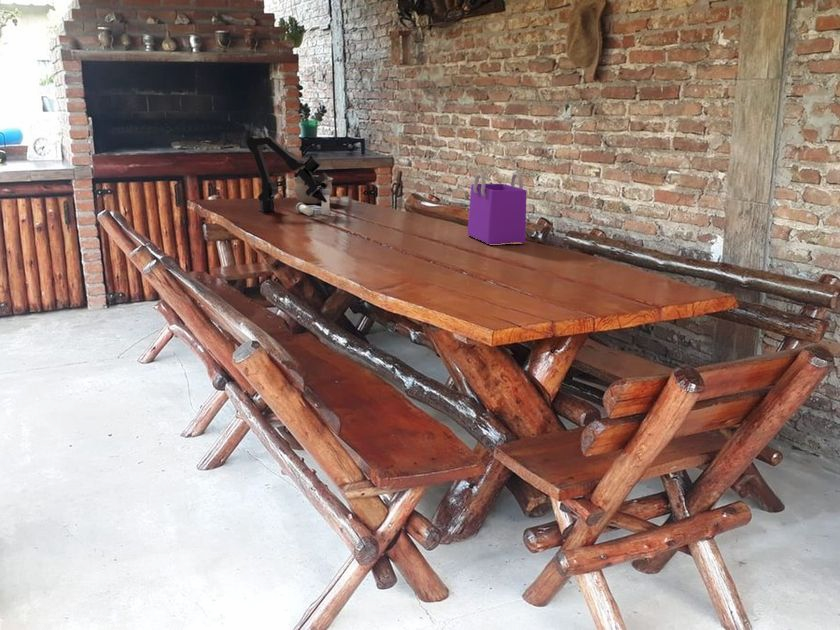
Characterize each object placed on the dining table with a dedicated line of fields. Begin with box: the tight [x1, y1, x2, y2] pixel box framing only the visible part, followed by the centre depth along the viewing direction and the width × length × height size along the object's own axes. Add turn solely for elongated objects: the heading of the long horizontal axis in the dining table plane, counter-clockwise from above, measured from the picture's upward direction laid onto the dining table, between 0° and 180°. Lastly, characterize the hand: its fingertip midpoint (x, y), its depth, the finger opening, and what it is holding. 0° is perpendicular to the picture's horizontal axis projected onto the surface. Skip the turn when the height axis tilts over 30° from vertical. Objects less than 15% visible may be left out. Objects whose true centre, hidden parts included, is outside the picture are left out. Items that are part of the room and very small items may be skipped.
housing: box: [306, 204, 331, 216], centre depth 436 cm, size 16×9×2 cm, turn 40°
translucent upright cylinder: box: [321, 189, 332, 215], centre depth 424 cm, size 5×5×12 cm
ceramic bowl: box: [293, 174, 334, 205], centre depth 468 cm, size 22×22×15 cm
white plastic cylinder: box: [295, 202, 314, 217], centre depth 428 cm, size 12×5×5 cm
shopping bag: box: [467, 171, 527, 244], centre depth 362 cm, size 28×22×30 cm
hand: (328, 201), depth 423 cm, fingers closed on translucent upright cylinder, 4 cm apart
